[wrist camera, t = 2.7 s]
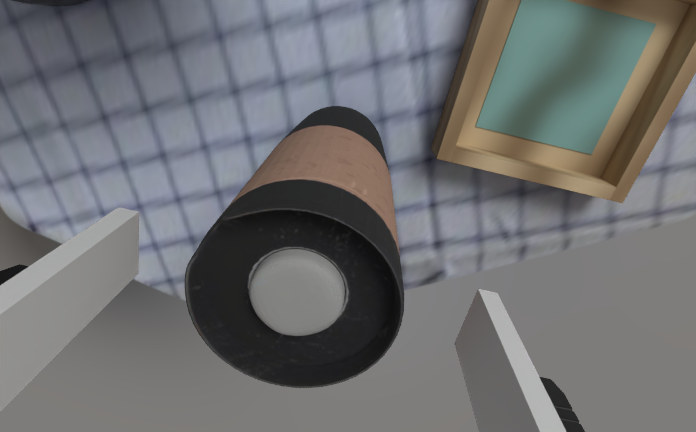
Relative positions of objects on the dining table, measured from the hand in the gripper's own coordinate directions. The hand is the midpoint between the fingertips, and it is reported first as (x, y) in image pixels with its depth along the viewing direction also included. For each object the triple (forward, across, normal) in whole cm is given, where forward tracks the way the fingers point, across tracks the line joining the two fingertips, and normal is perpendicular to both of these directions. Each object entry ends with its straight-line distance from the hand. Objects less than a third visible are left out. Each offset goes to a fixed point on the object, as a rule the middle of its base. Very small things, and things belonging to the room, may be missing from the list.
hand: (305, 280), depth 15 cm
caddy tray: (+18, +14, +9) cm, 24 cm away
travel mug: (+18, 0, 0) cm, 18 cm away
